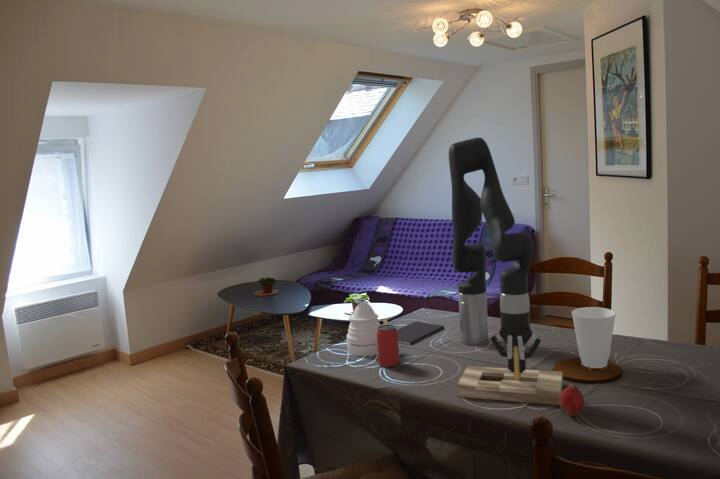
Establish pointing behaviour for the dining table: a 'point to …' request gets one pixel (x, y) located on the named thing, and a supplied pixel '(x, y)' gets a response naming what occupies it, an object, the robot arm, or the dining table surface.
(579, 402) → the onion
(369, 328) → the honey pot
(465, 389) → the keyhole board
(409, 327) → the notebook
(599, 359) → the cup
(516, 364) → the headed peg
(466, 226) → the robot arm
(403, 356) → the dining table surface
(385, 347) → the beer can
